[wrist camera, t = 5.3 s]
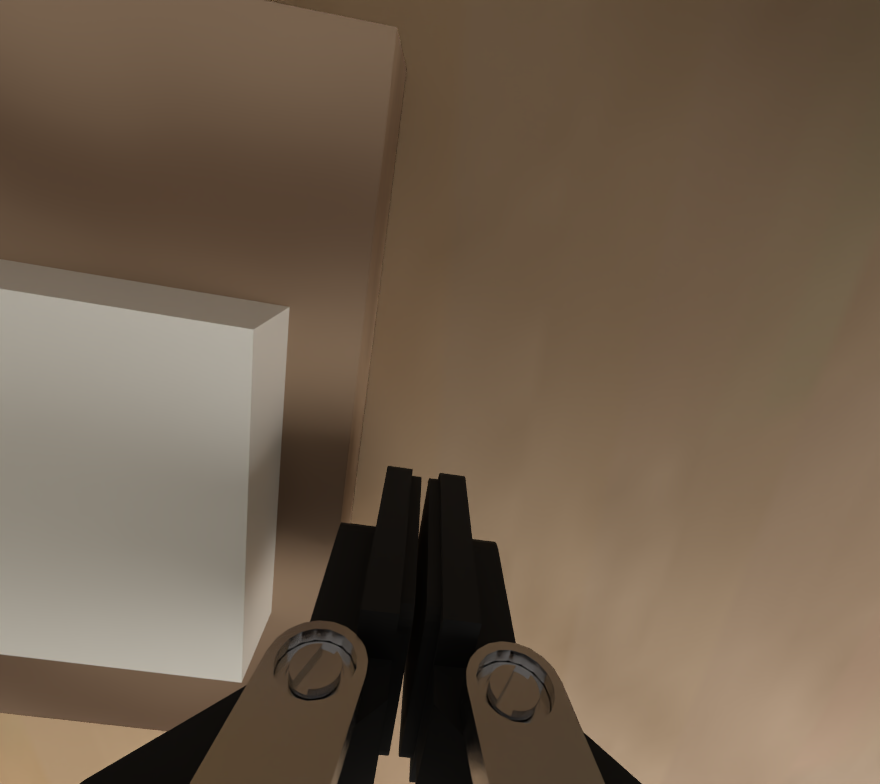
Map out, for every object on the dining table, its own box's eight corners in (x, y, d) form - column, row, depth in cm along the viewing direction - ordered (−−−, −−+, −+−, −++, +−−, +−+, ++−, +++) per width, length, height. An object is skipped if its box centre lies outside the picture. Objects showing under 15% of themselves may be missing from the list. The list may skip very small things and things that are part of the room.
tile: (-76, 246, 9) (-208, 254, 7) (289, 306, 10) (253, 329, 8) (-11, 575, 12) (-94, 642, 10) (271, 611, 12) (241, 682, 11)
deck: (-402, -91, 9) (-682, -192, 7) (406, 69, 10) (397, 27, 8) (-160, 612, 16) (-266, 683, 13) (332, 671, 17) (314, 747, 14)
